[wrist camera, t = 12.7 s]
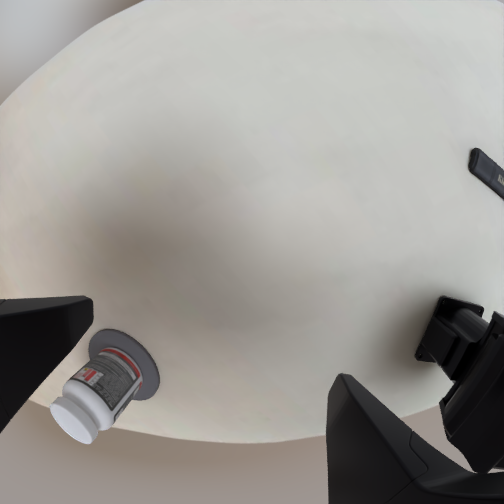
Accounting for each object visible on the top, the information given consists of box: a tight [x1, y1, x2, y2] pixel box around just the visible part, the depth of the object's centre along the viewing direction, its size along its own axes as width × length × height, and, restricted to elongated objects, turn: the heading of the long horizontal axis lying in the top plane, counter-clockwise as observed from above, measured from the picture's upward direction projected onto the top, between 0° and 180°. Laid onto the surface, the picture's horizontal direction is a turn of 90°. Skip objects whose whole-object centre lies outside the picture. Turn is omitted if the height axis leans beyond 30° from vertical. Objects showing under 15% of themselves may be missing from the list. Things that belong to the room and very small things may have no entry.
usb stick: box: [469, 148, 504, 199], centre depth 16 cm, size 10×3×2 cm, turn 70°
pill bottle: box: [50, 348, 143, 444], centre depth 20 cm, size 6×6×10 cm
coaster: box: [89, 329, 160, 400], centre depth 25 cm, size 9×9×1 cm
